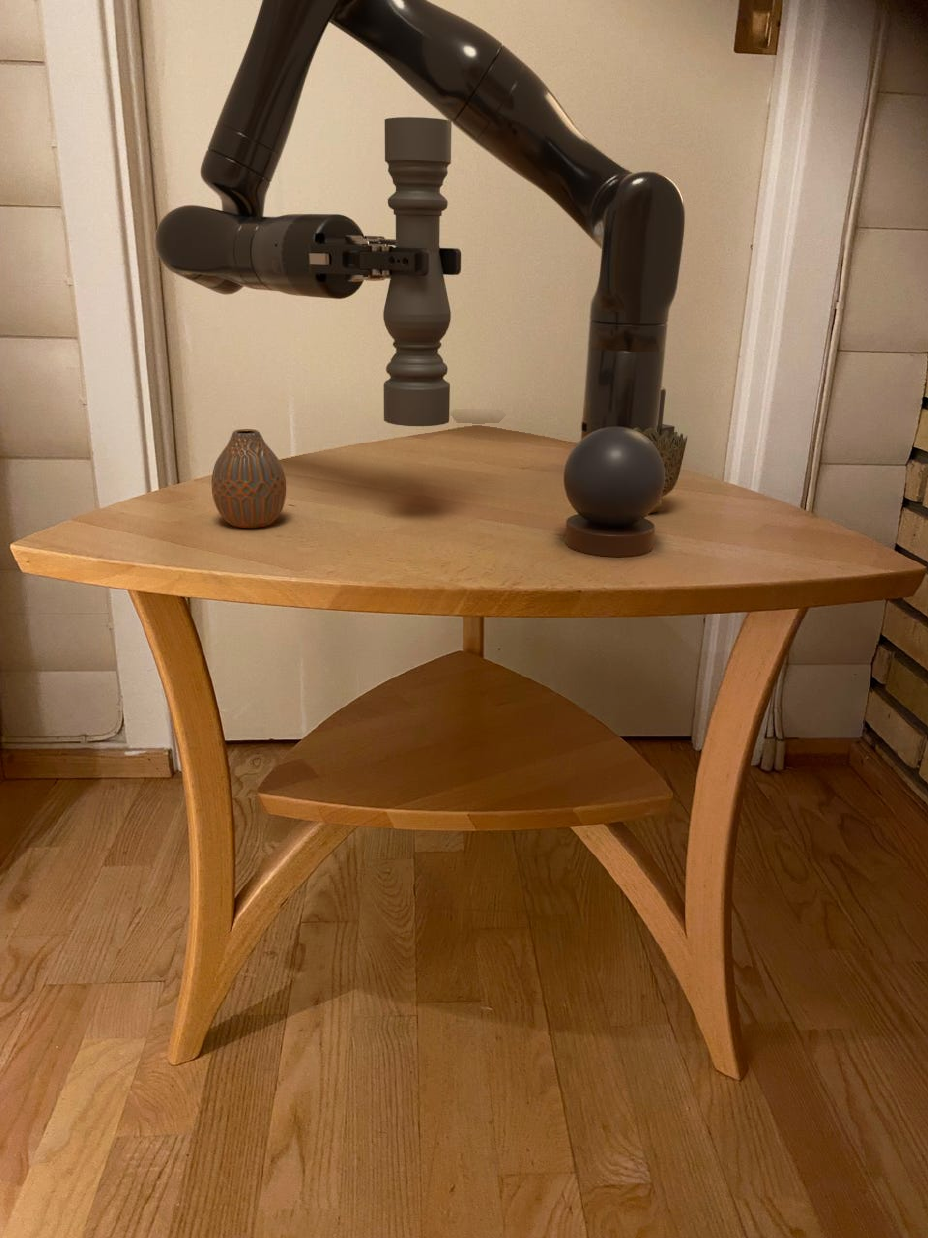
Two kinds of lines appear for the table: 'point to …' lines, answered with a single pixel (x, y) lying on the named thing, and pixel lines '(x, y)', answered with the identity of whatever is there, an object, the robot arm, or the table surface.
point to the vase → (248, 481)
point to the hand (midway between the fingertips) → (442, 261)
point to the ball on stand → (613, 492)
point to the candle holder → (417, 300)
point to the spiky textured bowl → (667, 456)
